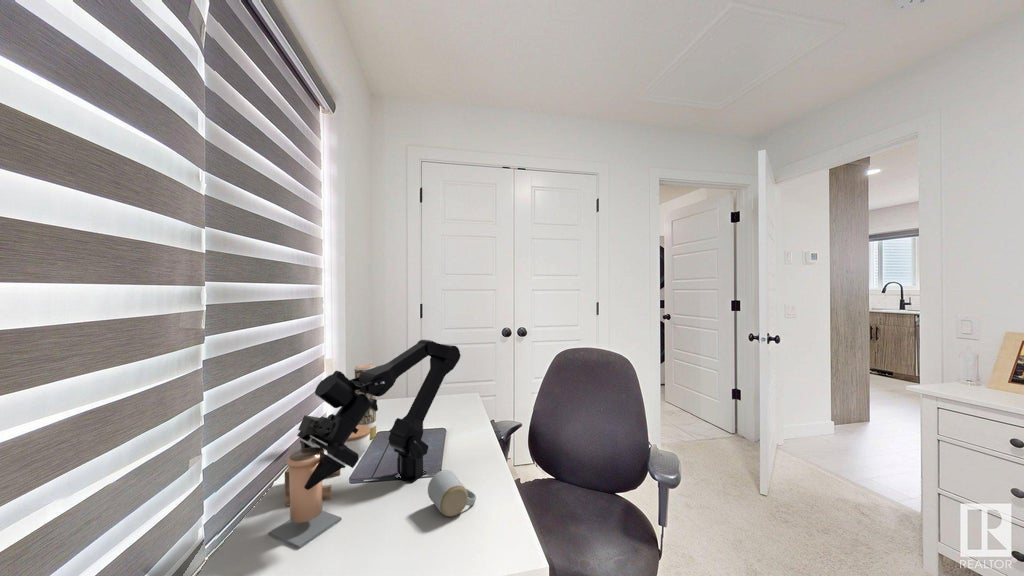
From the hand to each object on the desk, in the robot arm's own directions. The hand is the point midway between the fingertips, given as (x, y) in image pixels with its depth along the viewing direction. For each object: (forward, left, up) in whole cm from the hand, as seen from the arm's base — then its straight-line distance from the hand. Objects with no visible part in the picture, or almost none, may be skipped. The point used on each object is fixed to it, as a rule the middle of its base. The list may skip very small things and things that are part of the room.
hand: (299, 483), depth 79 cm
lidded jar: (+19, -30, -10) cm, 37 cm away
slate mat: (0, -1, -10) cm, 10 cm away
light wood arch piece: (+12, -13, -10) cm, 20 cm away
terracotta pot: (0, -1, -7) cm, 7 cm away
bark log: (+26, -42, -10) cm, 50 cm away
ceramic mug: (-25, -21, -10) cm, 35 cm away
